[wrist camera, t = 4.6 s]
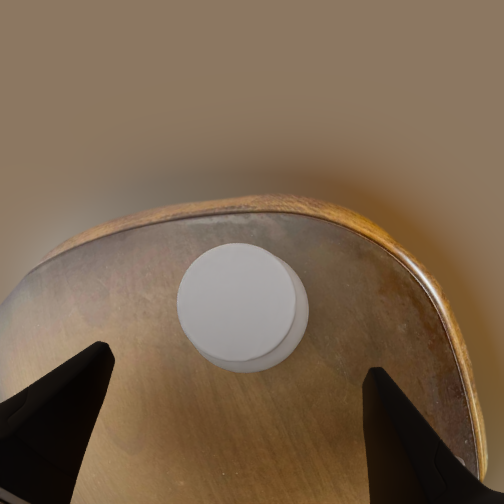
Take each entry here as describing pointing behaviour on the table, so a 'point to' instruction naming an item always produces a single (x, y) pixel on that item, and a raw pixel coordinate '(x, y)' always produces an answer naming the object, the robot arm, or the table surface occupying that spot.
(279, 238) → the table surface
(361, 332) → the table surface
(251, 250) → the pill bottle
